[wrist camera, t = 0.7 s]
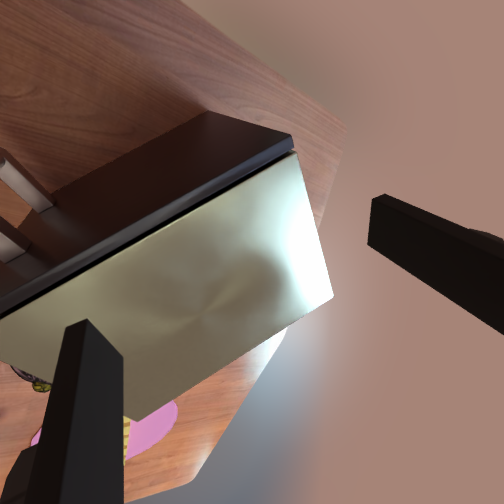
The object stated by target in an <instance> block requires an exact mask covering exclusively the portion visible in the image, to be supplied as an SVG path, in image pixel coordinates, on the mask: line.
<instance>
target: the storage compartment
mask: <svg viewBox="0 0 504 504" xmlns="http://www.w3.org/2000/svg"><path fill="white" fill-rule="evenodd" d="M333 297H334V296H333V292H332V288H331V284H330V280H329V276H328V272H327V268H326V264H325V260H324V256H323V253H322V249H321V245H320V241H319V237H318V233H317V229H316V225H315V221H314V218H313V214H312V210H311V206H310V202H309V198H308V194H307V190H306V186H305V183H304V179H303V175H302V171H301V167H300V163H299V159H298V155H297V152H296V151H293V150H289V151H287V152H286V153H284V154H282V155H280V156H279V157H277V158H275V159H273V160H272V161H270V162H268V163H266V164H265V165H263V166H261V167H259V168H257V169H256V170H254V171H252V172H250V173H249V174H247V175H245V176H243V177H242V178H240V179H238V180H236V181H234V182H233V183H231V184H229V185H227V186H226V187H224V188H222V189H220V190H219V191H217V192H215V193H213V194H211V195H210V196H208V197H206V198H204V199H203V200H201V201H199V202H197V203H196V204H194V205H192V206H190V207H189V208H187V209H185V210H183V211H181V212H180V213H178V214H176V215H174V216H173V217H171V218H169V219H167V220H166V221H164V222H162V223H160V224H158V225H157V226H155V227H153V228H151V229H150V230H148V231H146V232H144V233H143V234H141V235H139V236H137V237H136V238H134V239H132V240H130V241H128V242H127V243H125V244H123V245H121V246H120V247H118V248H116V249H114V250H113V251H111V252H109V253H107V254H105V255H104V256H102V257H100V258H98V259H97V260H95V261H93V262H91V263H90V264H88V265H86V266H84V267H83V268H81V269H79V270H77V271H75V272H74V273H72V274H70V275H68V276H67V277H65V278H63V279H61V280H60V281H58V282H56V283H54V284H52V285H51V286H49V287H47V288H45V289H44V290H42V291H40V292H38V293H37V294H35V295H33V296H31V297H29V298H28V299H26V300H24V301H22V302H21V303H19V304H17V305H15V306H14V307H12V308H10V309H8V310H7V311H5V312H3V313H1V314H0V361H2V362H4V363H7V364H9V365H11V366H13V367H16V368H18V369H20V370H22V371H25V372H27V373H29V374H31V375H33V376H36V377H38V378H40V379H42V380H45V381H47V382H49V383H51V384H52V382H53V378H54V374H55V369H56V365H57V361H58V357H59V352H60V348H61V344H62V340H63V336H64V331H65V327H67V326H70V325H72V324H74V323H77V322H79V321H81V320H84V319H86V318H87V319H88V320H89V321H90V322H91V323H92V324H93V325H94V326H95V327H96V328H97V329H98V330H99V331H100V332H101V334H102V335H103V336H104V337H105V338H106V339H107V340H108V341H109V342H110V343H111V344H112V345H113V346H114V347H115V349H116V350H117V351H118V352H119V353H120V354H121V355H122V356H123V357H124V416H125V417H127V418H129V419H132V420H134V421H136V422H139V421H141V420H142V419H144V418H145V417H147V416H148V415H150V414H152V413H153V412H155V411H156V410H158V409H159V408H161V407H162V406H164V405H166V404H167V403H169V402H170V401H172V400H173V399H175V398H177V397H178V396H180V395H181V394H183V393H184V392H186V391H187V390H189V389H191V388H192V387H194V386H195V385H197V384H198V383H200V382H201V381H203V380H205V379H206V378H208V377H209V376H211V375H212V374H214V373H216V372H217V371H219V370H220V369H222V368H223V367H225V366H226V365H228V364H230V363H231V362H233V361H234V360H236V359H237V358H239V357H241V356H242V355H244V354H245V353H247V352H248V351H250V350H251V349H253V348H255V347H256V346H258V345H259V344H261V343H262V342H264V341H265V340H267V339H269V338H270V337H272V336H273V335H275V334H276V333H278V332H280V331H281V330H283V329H284V328H286V327H287V326H289V325H290V324H292V323H294V322H295V321H297V320H298V319H300V318H301V317H303V316H304V315H306V314H308V313H309V312H311V311H312V310H314V309H315V308H317V307H319V306H320V305H322V304H323V303H325V302H326V301H328V300H329V299H331V298H333Z"/></svg>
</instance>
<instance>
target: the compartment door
mask: <svg viewBox="0 0 504 504" xmlns="http://www.w3.org/2000/svg"><path fill="white" fill-rule="evenodd" d="M293 148H294V144H293V140H292V136H291V135H290V134H287V133H283V132H280V131H277V130H273V129H270V128H266V127H263V126H260V125H256V124H253V123H249V122H246V121H243V120H239V119H236V118H232V117H229V116H226V115H222V114H219V113H215V112H212V111H209V110H207V111H205V112H204V113H202V114H200V115H198V116H196V117H194V118H192V119H190V120H188V121H187V122H185V123H183V124H181V125H179V126H177V127H175V128H173V129H171V130H170V131H168V132H166V133H164V134H162V135H160V136H158V137H156V138H155V139H153V140H151V141H149V142H147V143H145V144H143V145H141V146H139V147H138V148H136V149H134V150H132V151H130V152H128V153H126V154H124V155H122V156H121V157H119V158H117V159H115V160H113V161H111V162H109V163H107V164H105V165H104V166H102V167H100V168H98V169H96V170H94V171H92V172H90V173H89V174H87V175H85V176H83V177H81V178H79V179H77V180H75V181H73V182H72V183H70V184H68V185H66V186H64V187H62V188H60V189H58V190H56V191H55V192H53V193H51V194H50V193H49V192H48V191H47V190H46V189H45V188H44V187H43V186H42V185H41V184H40V183H39V182H38V181H37V180H36V179H35V178H34V177H33V176H32V175H31V174H30V173H29V172H28V171H27V170H26V169H25V168H24V167H23V166H22V165H21V164H20V163H19V162H18V161H17V160H16V159H15V158H14V157H13V156H12V155H11V154H10V153H9V152H8V151H7V150H6V149H4V148H2V147H0V179H1V180H2V181H4V182H5V183H6V184H7V185H8V186H9V187H10V188H11V189H12V190H13V191H15V192H16V193H17V194H18V195H19V196H20V197H21V198H22V199H23V200H24V201H26V202H27V203H28V204H29V205H30V206H31V207H32V210H31V211H30V212H29V214H28V215H27V216H26V218H25V219H24V220H23V222H22V223H21V224H20V226H19V227H18V228H17V229H16V228H15V227H14V226H12V225H11V224H10V223H9V222H7V221H6V220H5V219H4V218H3V217H1V216H0V314H1V313H3V312H5V311H7V310H8V309H10V308H12V307H14V306H15V305H17V304H19V303H21V302H22V301H24V300H26V299H28V298H29V297H31V296H33V295H35V294H37V293H38V292H40V291H42V290H44V289H45V288H47V287H49V286H51V285H52V284H54V283H56V282H58V281H60V280H61V279H63V278H65V277H67V276H68V275H70V274H72V273H74V272H75V271H77V270H79V269H81V268H83V267H84V266H86V265H88V264H90V263H91V262H93V261H95V260H97V259H98V258H100V257H102V256H104V255H105V254H107V253H109V252H111V251H113V250H114V249H116V248H118V247H120V246H121V245H123V244H125V243H127V242H128V241H130V240H132V239H134V238H136V237H137V236H139V235H141V234H143V233H144V232H146V231H148V230H150V229H151V228H153V227H155V226H157V225H158V224H160V223H162V222H164V221H166V220H167V219H169V218H171V217H173V216H174V215H176V214H178V213H180V212H181V211H183V210H185V209H187V208H189V207H190V206H192V205H194V204H196V203H197V202H199V201H201V200H203V199H204V198H206V197H208V196H210V195H211V194H213V193H215V192H217V191H219V190H220V189H222V188H224V187H226V186H227V185H229V184H231V183H233V182H234V181H236V180H238V179H240V178H242V177H243V176H245V175H247V174H249V173H250V172H252V171H254V170H256V169H257V168H259V167H261V166H263V165H265V164H266V163H268V162H270V161H272V160H273V159H275V158H277V157H279V156H280V155H282V154H284V153H286V152H287V151H289V150H291V149H293Z"/></svg>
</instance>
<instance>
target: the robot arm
mask: <svg viewBox="0 0 504 504" xmlns="http://www.w3.org/2000/svg"><path fill="white" fill-rule="evenodd" d="M367 245H368V246H370V247H371V248H373V249H374V250H376V251H378V252H379V253H380V254H382V255H383V256H385V257H386V258H388V259H389V260H391V261H393V262H394V263H395V264H397V265H399V266H400V267H402V268H403V269H405V270H406V271H408V272H409V273H411V274H412V275H414V276H415V277H417V278H418V279H420V280H421V281H423V282H424V283H426V284H427V285H429V286H430V287H432V288H433V289H435V290H436V291H438V292H439V293H441V294H442V295H444V296H446V297H447V298H448V299H450V300H451V301H453V302H454V303H456V304H457V305H459V306H461V307H462V308H463V309H465V310H467V311H468V312H469V313H471V314H472V315H474V316H475V317H477V318H478V319H480V320H481V321H483V322H485V323H486V324H487V325H489V326H490V327H492V328H493V329H495V330H497V331H498V332H500V333H501V334H503V335H504V240H503V239H502V238H499V237H497V236H495V235H492V234H490V233H487V232H483V231H478V230H474V229H467V228H465V227H462V226H460V225H458V224H455V223H453V222H451V221H448V220H446V219H443V218H441V217H439V216H436V215H434V214H432V213H430V212H427V211H425V210H422V209H420V208H418V207H415V206H413V205H410V204H408V203H406V202H403V201H401V200H399V199H396V198H394V197H392V196H389V195H387V194H383V195H380V196H378V197H375V198H373V199H372V204H371V213H370V223H369V233H368V243H367ZM0 504H124V357H123V356H122V355H121V354H120V353H119V352H118V351H117V350H116V349H115V347H114V346H113V345H112V344H111V343H110V342H109V341H108V340H107V339H106V338H105V337H104V336H103V335H102V334H101V332H100V331H99V330H98V329H97V328H96V327H95V326H94V325H93V324H92V323H91V322H90V321H89V320H88V319H87V318H86V319H84V320H81V321H79V322H77V323H74V324H72V325H70V326H67V327H65V331H64V336H63V340H62V344H61V348H60V352H59V357H58V361H57V365H56V369H55V374H54V378H53V382H52V386H51V390H50V395H49V399H48V403H47V407H46V412H45V416H44V420H43V424H42V428H41V433H40V437H39V441H38V443H37V444H35V445H33V446H31V447H29V448H27V449H25V450H23V451H21V453H20V455H19V457H18V458H17V460H16V462H15V464H14V465H13V467H12V469H11V471H10V473H9V474H8V476H7V478H6V482H5V485H4V488H3V492H2V495H1V498H0Z"/></svg>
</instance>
